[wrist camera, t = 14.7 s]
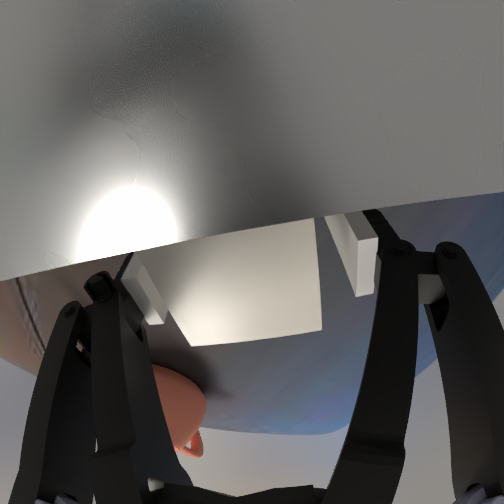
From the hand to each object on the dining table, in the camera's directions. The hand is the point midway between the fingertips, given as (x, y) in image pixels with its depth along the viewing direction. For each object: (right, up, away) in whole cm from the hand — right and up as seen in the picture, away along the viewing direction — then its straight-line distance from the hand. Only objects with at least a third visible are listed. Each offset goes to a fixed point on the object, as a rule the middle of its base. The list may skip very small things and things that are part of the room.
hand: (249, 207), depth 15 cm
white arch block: (-2, +7, -5) cm, 9 cm away
